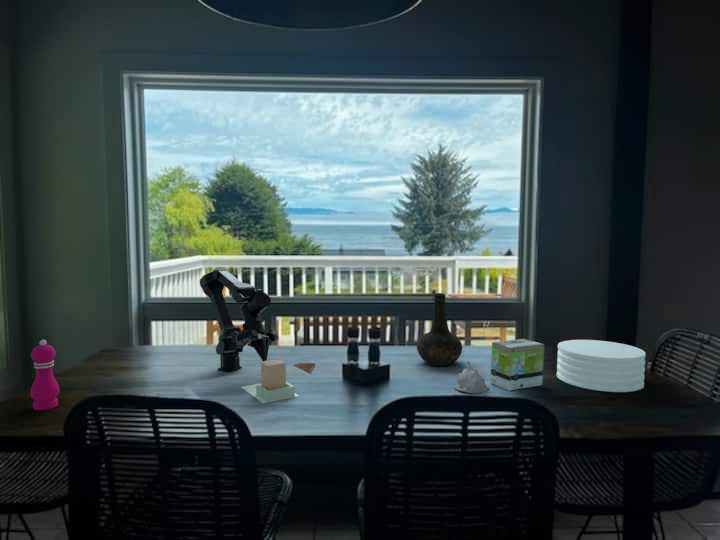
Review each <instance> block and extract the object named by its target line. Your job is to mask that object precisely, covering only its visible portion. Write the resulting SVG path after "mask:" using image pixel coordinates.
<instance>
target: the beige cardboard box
mask: <svg viewBox="0 0 720 540" xmlns="http://www.w3.org/2000/svg"><path fill="white" fill-rule="evenodd" d="M286 365H287V364H286V362H285V361H284V360H281V359H272V360H271V359H270V360H267V361H261V362H260V377H261V378H260V381H261V382H260V383H261V386H262V387H264V388H265V389H267V390H268V391H270V390H275V389H281V388H286V382H287V377H286V376H287V375H286V374H287V373H286V369H287V367H286Z"/></svg>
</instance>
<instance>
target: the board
mask: <svg viewBox="0 0 720 540" xmlns="http://www.w3.org/2000/svg"><path fill="white" fill-rule="evenodd" d="M295 387H296V386H294V385H293V384H291V383H290V382H288V381H286V388H281V389H275V390H270V391H268V390H267V389H265V388H264V387H262V386H261V382H260V383H255V384H250V385H243V386H240V388H241V389H242V390H244V391H245V392H246V393H248V394H250V395H251V396H252V397H254V398H255V399H257V401H259V402H260V403H262V404H265V403H270V402H275V401H280V400H281V401H282V400H285V399H286V400H287V399H291V398H296V397H299V396H300V395H299V394H297V393H296V391H295Z"/></svg>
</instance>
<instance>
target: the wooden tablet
mask: <svg viewBox="0 0 720 540" xmlns="http://www.w3.org/2000/svg"><path fill="white" fill-rule="evenodd" d="M292 366H293V367H295V368H297V369H300V370H301V371H304V372H306V373H308V374H309V375H311V374H312V372H313V371H314V368H315V366H316V363H315V362H306V363H303V362H302V363H301V362H299V363H295V364H293V365H292Z"/></svg>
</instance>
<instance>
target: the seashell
mask: <svg viewBox="0 0 720 540" xmlns="http://www.w3.org/2000/svg"><path fill="white" fill-rule="evenodd" d="M466 366H467V367H466V368H463V370H462V372H461V373H460V372H458V373H457V377H458V380H457V384H456V385H455V384H454V387H453V388H454V389H455V390H456V391H459V392H462V393H463V392H464V393H467V394H480V393H483V392H484V393H485V392H487V391H489V389H490V387H488V386H487V385H486V381H485V378H484V377H483V376H482V375H481V374H480V373H479V372H478V370H477V368H476V367H474V368H473V367H472V365H471V362H470V360H467V362H466Z"/></svg>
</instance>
